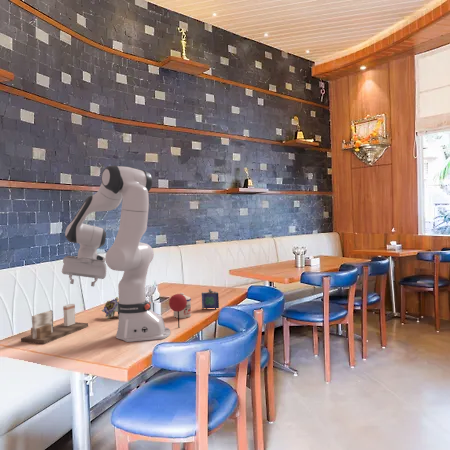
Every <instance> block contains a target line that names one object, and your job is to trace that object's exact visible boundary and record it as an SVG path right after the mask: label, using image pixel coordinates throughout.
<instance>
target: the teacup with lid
mask: <svg viewBox="0 0 450 450" xmlns="http://www.w3.org/2000/svg"><path fill="white" fill-rule="evenodd" d="M179 294H181V295H183V296H184V297H185V298H186V300H187V305H186V307H185V309H184V310H182V311H179V319H186V317H188V318H190V317H192V303H191V302H192V301H191V300H192V298H191V296H187V295H185V293H184V292H180V293H179ZM175 317H176V318H175ZM173 318H175V319H178V312H176V311H173Z"/></svg>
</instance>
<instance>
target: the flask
mask: <svg viewBox="0 0 450 450" xmlns="http://www.w3.org/2000/svg"><path fill="white" fill-rule="evenodd" d="M219 297H220V296H219V292H218V291H213V290H212V289H211V288H209V289H208V291H204V292H203V291H202V292H201V309H202V308H215V309H216V308H219V309H220V301H219V300H220V299H219Z"/></svg>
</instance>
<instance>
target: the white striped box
mask: <svg viewBox="0 0 450 450" xmlns="http://www.w3.org/2000/svg"><path fill="white" fill-rule="evenodd" d="M62 310H63V323H64V326H70V325H72V324H75V322H76V305H75V303H70V304H65V305H63V307H62Z"/></svg>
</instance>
